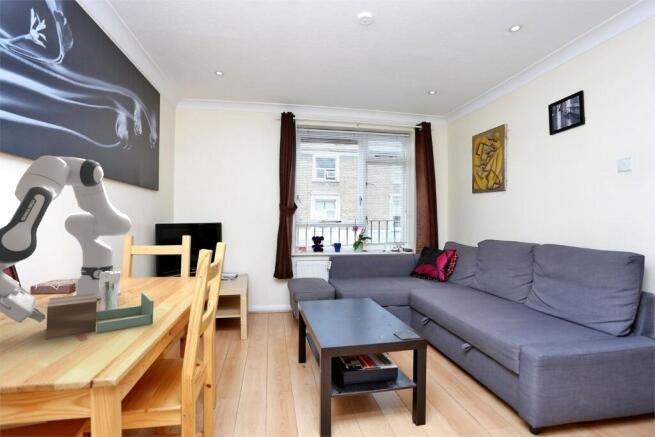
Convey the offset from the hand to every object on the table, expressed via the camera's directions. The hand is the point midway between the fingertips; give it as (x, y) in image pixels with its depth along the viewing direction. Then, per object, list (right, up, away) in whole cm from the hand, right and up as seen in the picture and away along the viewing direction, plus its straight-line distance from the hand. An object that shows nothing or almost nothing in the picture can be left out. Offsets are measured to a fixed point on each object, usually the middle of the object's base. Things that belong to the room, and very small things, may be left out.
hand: (43, 319), depth 97 cm
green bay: (+16, -5, +14) cm, 22 cm away
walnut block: (+5, -5, +4) cm, 9 cm away
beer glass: (+1, -5, +27) cm, 28 cm away
